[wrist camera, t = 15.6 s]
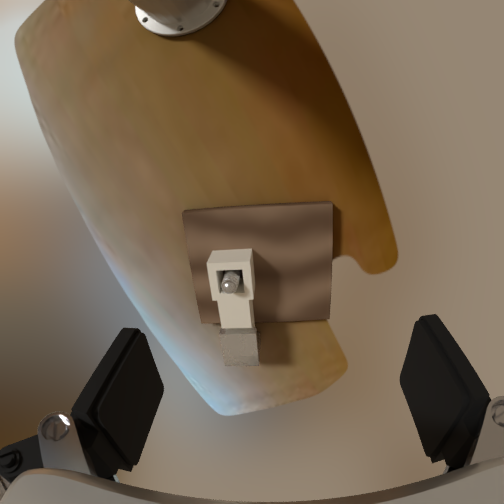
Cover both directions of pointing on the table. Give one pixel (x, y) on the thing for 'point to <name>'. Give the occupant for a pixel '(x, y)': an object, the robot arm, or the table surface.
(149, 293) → the table surface
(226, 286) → the cylinder
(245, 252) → the link
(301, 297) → the board
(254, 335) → the block
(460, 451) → the robot arm
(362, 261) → the table surface
